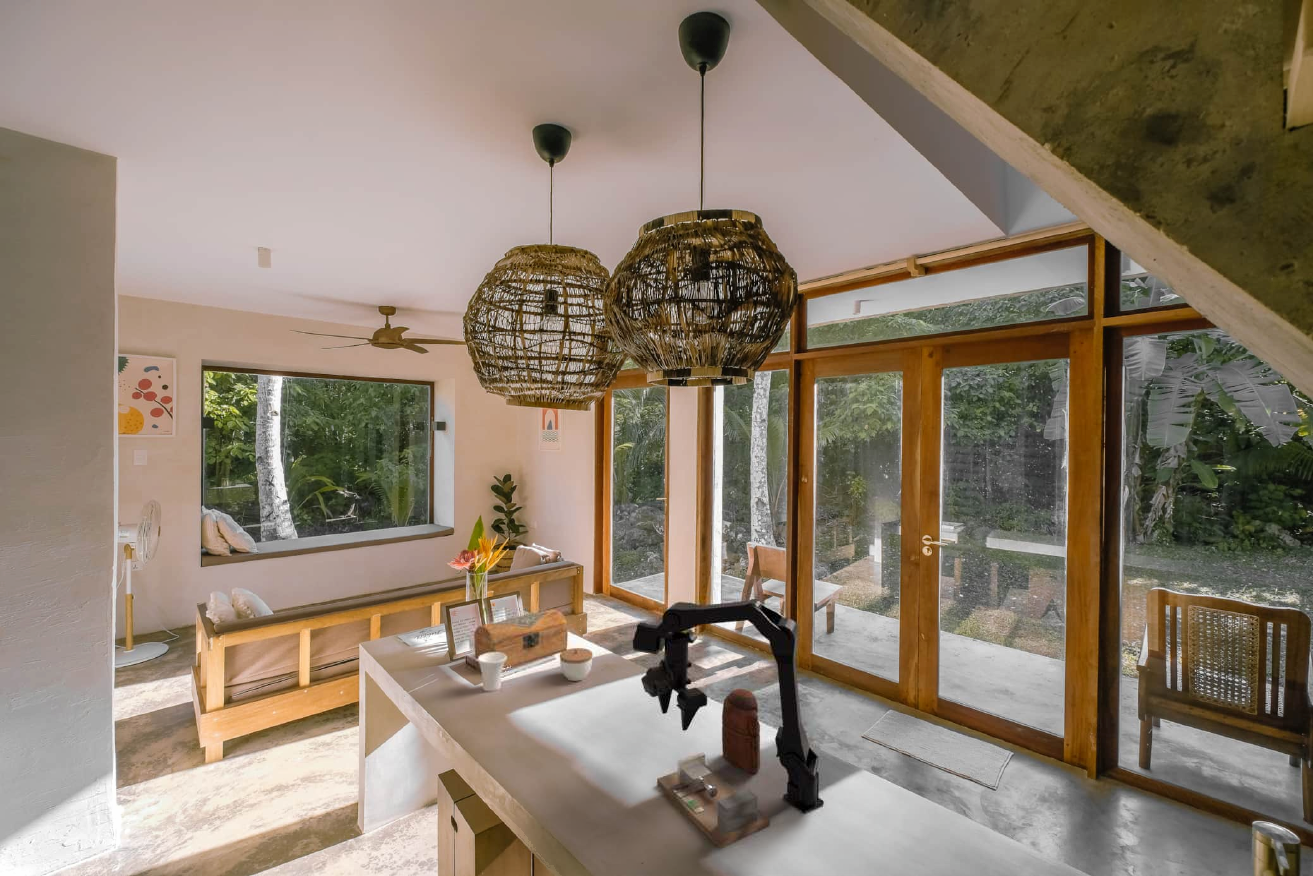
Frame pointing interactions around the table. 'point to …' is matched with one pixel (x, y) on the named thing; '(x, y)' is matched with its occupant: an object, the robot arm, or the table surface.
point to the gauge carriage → (695, 774)
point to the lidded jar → (576, 663)
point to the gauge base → (717, 809)
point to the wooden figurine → (741, 730)
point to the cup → (492, 669)
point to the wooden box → (524, 637)
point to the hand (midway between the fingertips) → (674, 721)
